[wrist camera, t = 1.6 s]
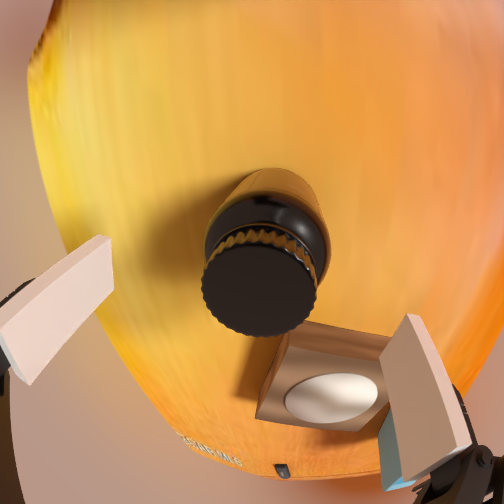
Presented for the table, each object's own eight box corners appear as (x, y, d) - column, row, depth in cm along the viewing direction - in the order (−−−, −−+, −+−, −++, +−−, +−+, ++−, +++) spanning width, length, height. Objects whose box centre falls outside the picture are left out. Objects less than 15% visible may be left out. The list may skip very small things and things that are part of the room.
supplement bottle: (270, 262, 24) (247, 372, 13) (216, 202, 22) (144, 278, 11) (335, 216, 21) (370, 309, 10) (281, 148, 19) (264, 173, 9)
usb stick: (275, 462, 45) (274, 468, 43) (287, 462, 44) (286, 468, 43) (280, 473, 48) (279, 479, 47) (291, 474, 48) (290, 479, 46)
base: (290, 316, 26) (288, 348, 22) (409, 340, 25) (419, 368, 22) (259, 393, 32) (254, 420, 28) (355, 408, 32) (357, 433, 28)
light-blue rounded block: (400, 430, 34) (408, 487, 24) (376, 434, 35) (381, 493, 25) (421, 393, 29) (438, 463, 19) (393, 399, 30) (405, 472, 20)
